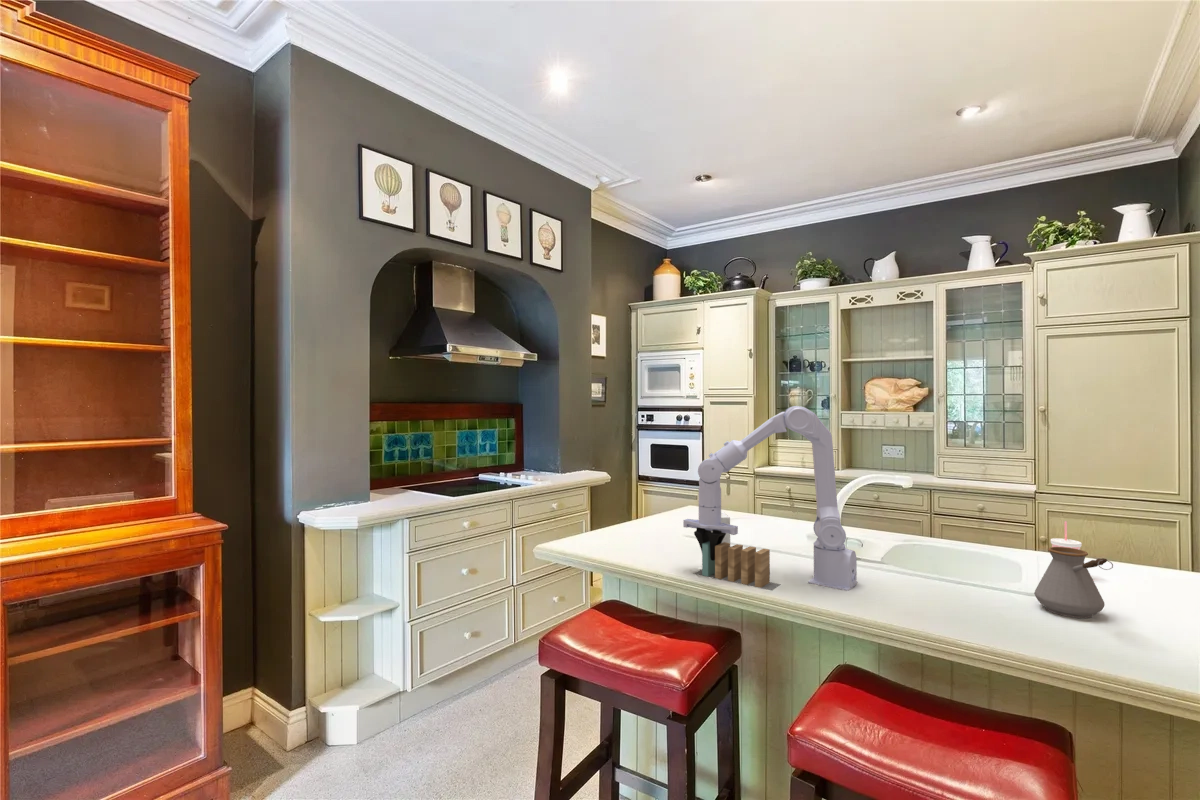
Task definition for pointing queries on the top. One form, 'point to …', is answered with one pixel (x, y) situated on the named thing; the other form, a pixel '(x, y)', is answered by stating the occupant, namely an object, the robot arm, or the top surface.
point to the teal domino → (707, 560)
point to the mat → (769, 586)
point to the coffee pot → (1070, 584)
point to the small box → (726, 520)
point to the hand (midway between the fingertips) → (709, 558)
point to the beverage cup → (1066, 541)
